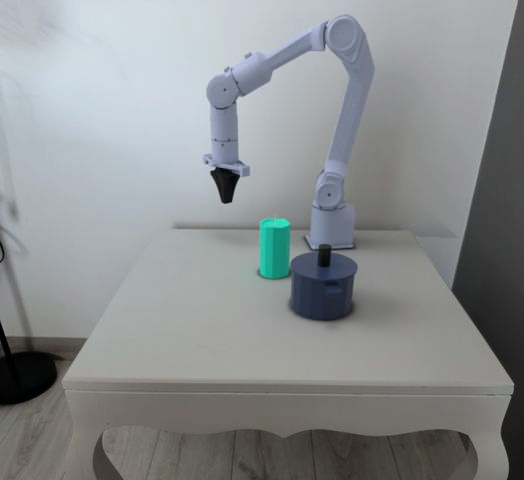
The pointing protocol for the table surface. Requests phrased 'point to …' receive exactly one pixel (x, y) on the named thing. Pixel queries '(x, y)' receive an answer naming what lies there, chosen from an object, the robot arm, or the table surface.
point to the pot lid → (323, 265)
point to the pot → (321, 298)
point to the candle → (274, 247)
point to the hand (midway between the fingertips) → (226, 202)
